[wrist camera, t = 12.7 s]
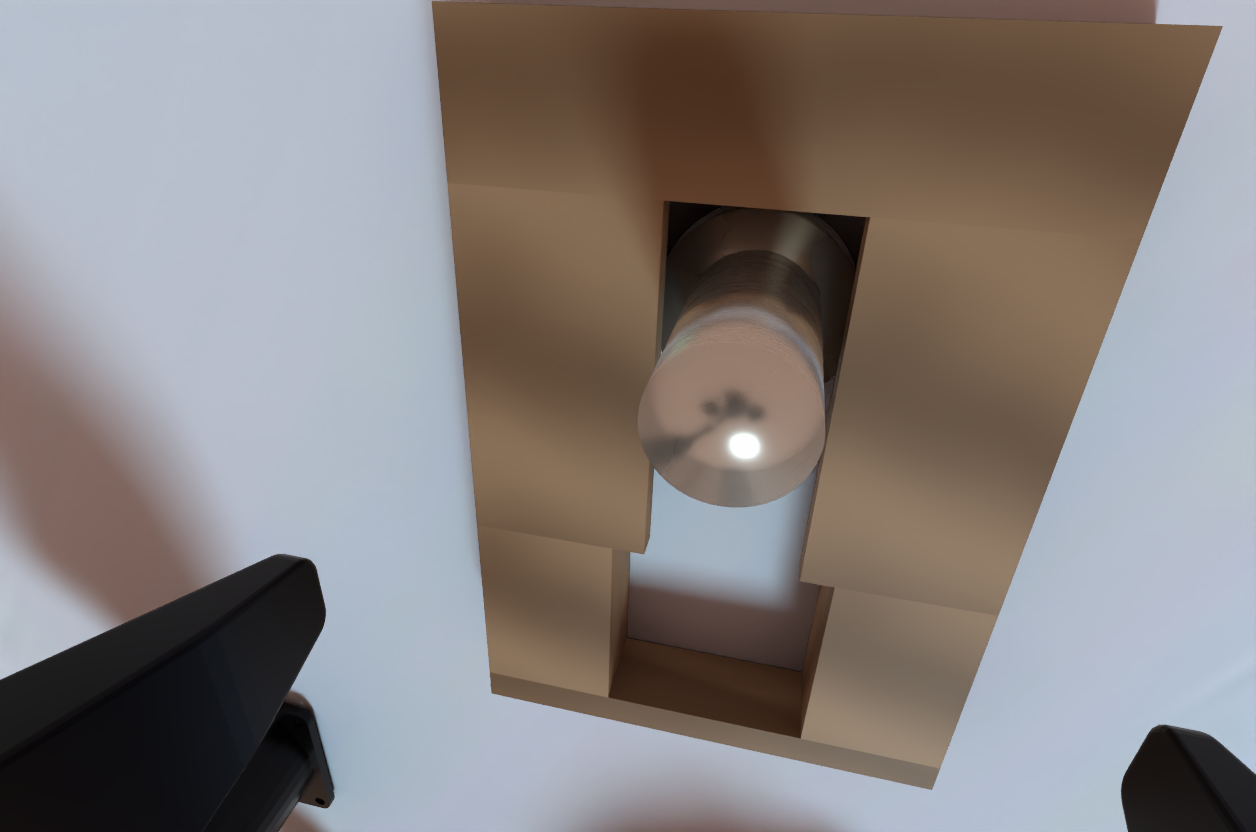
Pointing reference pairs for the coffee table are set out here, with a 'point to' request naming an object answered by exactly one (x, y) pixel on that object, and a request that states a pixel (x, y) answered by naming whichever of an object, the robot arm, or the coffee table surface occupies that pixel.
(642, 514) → the keyhole plate
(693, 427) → the steel peg
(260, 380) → the coffee table surface
